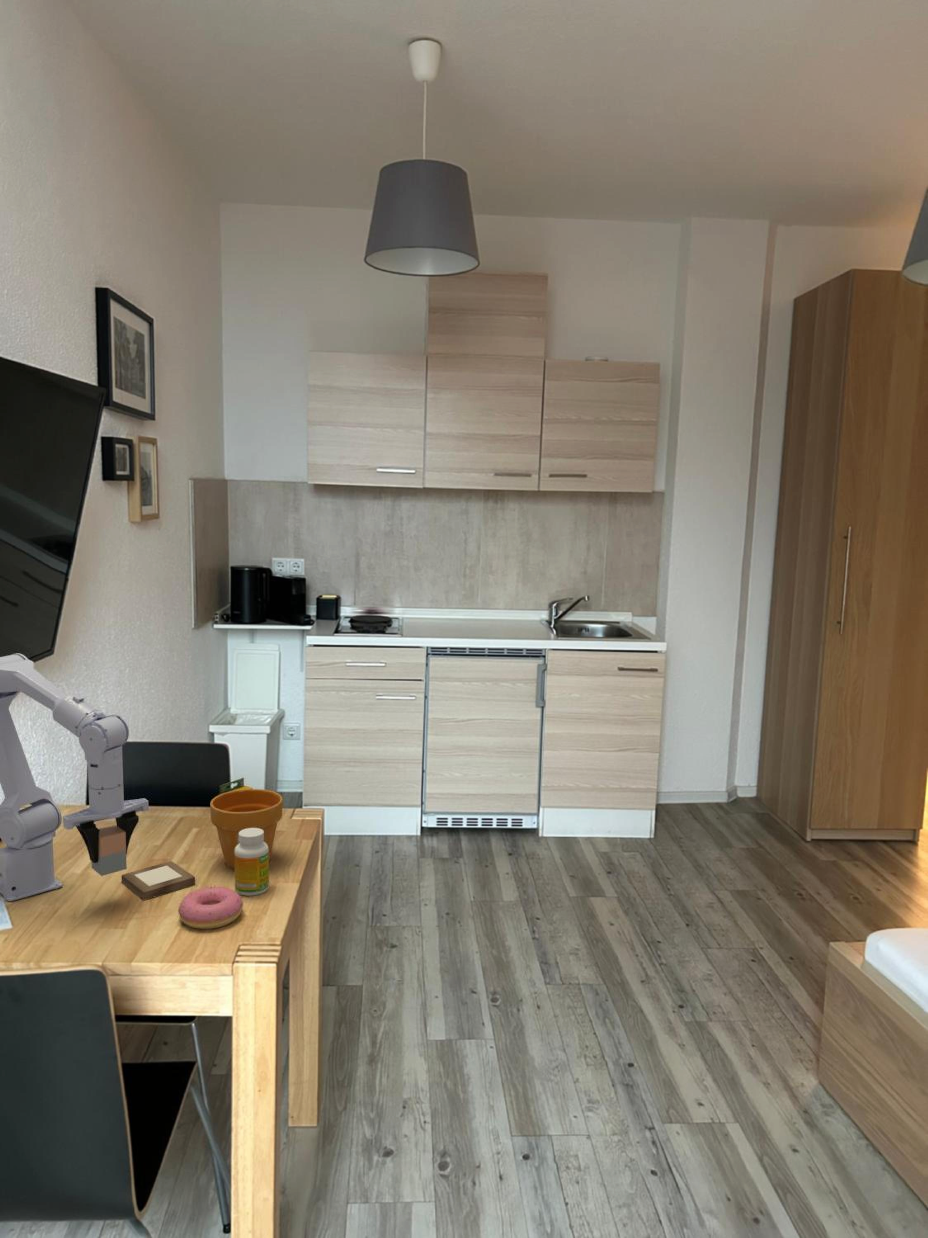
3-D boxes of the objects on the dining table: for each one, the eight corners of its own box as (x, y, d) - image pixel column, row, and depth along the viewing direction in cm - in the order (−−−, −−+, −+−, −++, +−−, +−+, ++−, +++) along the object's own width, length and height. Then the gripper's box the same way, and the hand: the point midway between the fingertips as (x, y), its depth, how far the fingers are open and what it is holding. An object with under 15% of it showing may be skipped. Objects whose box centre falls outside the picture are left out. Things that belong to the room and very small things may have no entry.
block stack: (101, 876, 152) (100, 838, 152) (91, 868, 156) (90, 831, 155) (126, 869, 156) (125, 832, 155) (116, 861, 159) (115, 824, 158)
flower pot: (265, 879, 168) (264, 815, 166) (198, 872, 170) (197, 808, 169) (293, 851, 181) (293, 791, 180) (231, 844, 184) (230, 786, 182)
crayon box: (229, 840, 187) (228, 788, 185) (219, 837, 188) (218, 785, 187) (253, 829, 193) (253, 779, 192) (244, 826, 195) (243, 777, 193)
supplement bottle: (264, 897, 160) (263, 839, 159) (230, 896, 160) (229, 838, 159) (272, 882, 166) (271, 826, 165) (240, 881, 166) (239, 825, 165)
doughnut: (205, 899, 159) (205, 877, 159) (255, 910, 155) (255, 888, 155) (164, 925, 149) (164, 902, 149) (217, 938, 145) (216, 915, 145)
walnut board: (144, 900, 158) (143, 892, 158) (121, 882, 165) (121, 874, 165) (195, 884, 165) (194, 876, 165) (171, 868, 172) (171, 860, 172)
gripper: (72, 799, 146) (75, 875, 148) (155, 781, 156) (157, 853, 158) (57, 789, 151) (60, 863, 153) (138, 772, 161) (140, 842, 163)
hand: (108, 857), depth 155 cm, fingers closed on block stack, 4 cm apart
